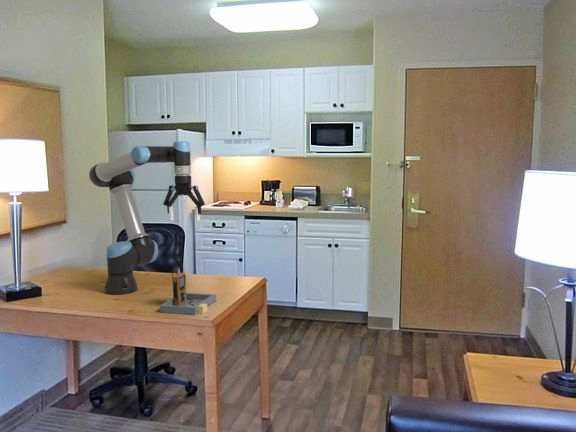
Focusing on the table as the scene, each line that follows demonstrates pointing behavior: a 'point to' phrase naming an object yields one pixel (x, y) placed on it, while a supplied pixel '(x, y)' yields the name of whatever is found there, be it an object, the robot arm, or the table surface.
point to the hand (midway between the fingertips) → (184, 220)
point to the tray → (198, 299)
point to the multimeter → (179, 287)
